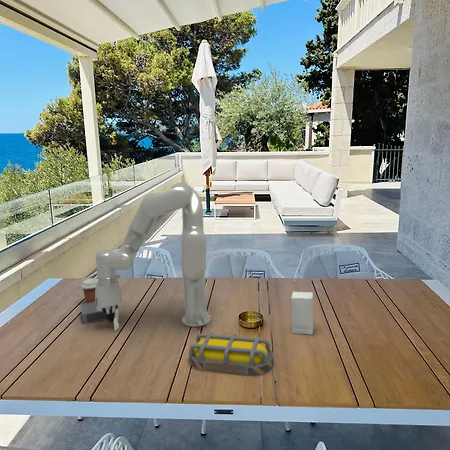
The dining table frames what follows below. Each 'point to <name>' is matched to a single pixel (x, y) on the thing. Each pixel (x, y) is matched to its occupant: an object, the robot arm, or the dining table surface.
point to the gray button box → (92, 313)
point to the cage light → (231, 354)
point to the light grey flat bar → (116, 320)
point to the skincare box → (302, 312)
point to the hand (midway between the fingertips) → (110, 320)
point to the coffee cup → (89, 289)
